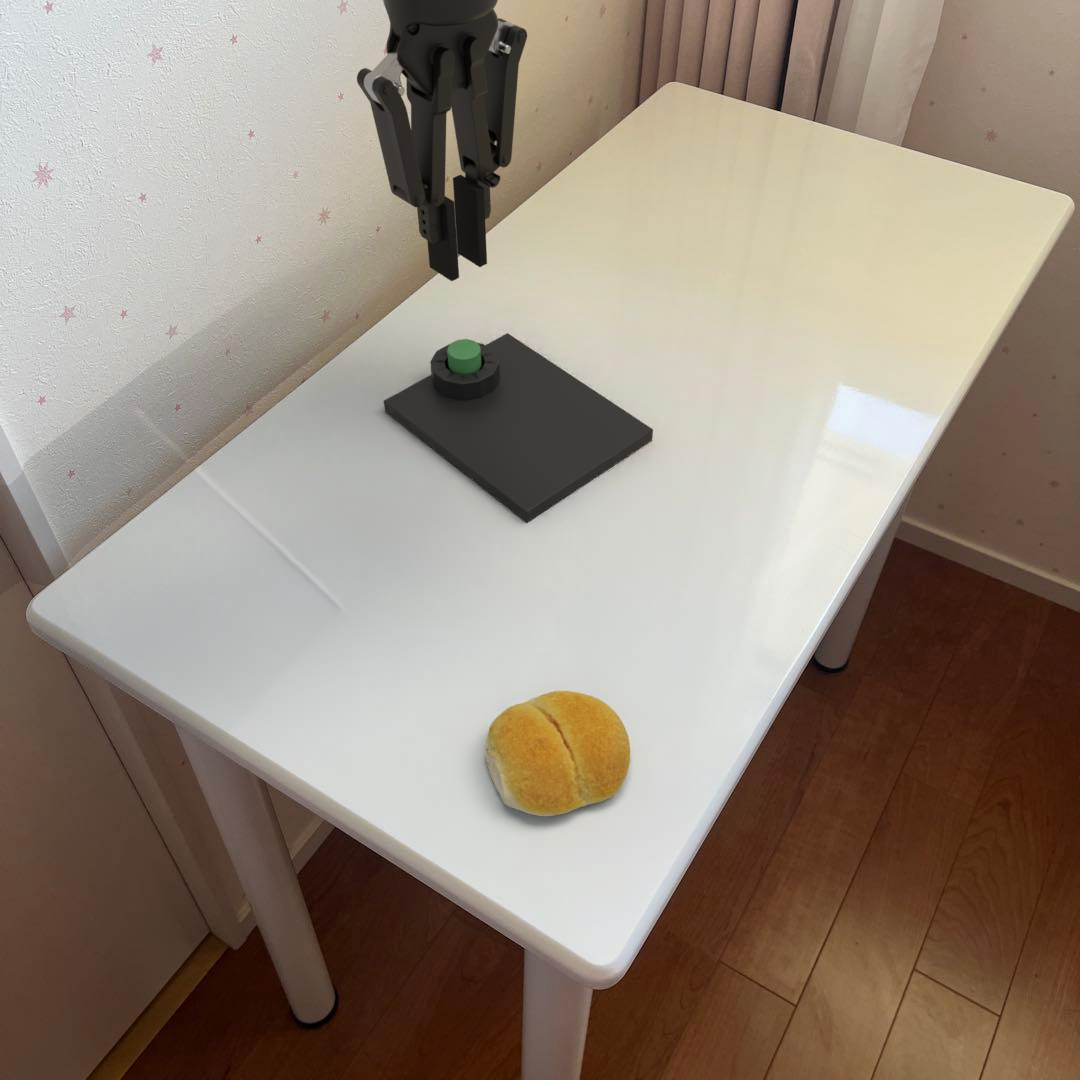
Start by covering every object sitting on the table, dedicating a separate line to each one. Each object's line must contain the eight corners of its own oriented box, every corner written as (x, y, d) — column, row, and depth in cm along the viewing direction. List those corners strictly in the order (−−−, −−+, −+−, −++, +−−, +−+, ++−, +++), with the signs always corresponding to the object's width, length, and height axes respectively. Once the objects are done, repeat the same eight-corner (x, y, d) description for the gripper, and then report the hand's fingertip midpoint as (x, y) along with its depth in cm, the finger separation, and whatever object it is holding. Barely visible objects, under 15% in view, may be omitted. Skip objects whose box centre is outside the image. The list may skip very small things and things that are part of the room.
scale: (382, 409, 94) (378, 381, 92) (505, 341, 100) (504, 314, 98) (527, 523, 85) (526, 495, 82) (652, 440, 91) (655, 412, 89)
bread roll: (649, 790, 69) (654, 755, 66) (515, 839, 66) (513, 805, 64) (596, 689, 74) (599, 652, 71) (470, 731, 72) (467, 695, 69)
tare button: (441, 364, 94) (440, 348, 93) (466, 351, 95) (465, 334, 94) (463, 380, 92) (461, 363, 91) (488, 366, 94) (487, 349, 92)
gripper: (375, -10, 64) (411, 325, 81) (565, -73, 71) (561, 248, 88) (302, -44, 68) (351, 283, 85) (489, -101, 75) (499, 212, 92)
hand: (458, 264), depth 87 cm, fingers open, 2 cm apart
